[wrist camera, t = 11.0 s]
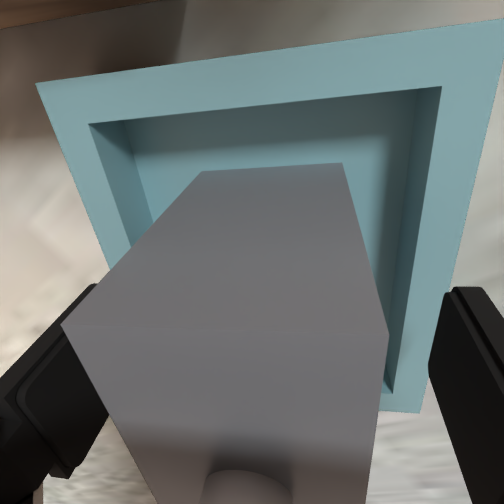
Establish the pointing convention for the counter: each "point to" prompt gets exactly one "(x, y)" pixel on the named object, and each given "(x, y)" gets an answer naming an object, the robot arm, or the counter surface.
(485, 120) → the tray
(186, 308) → the grey rectangular block
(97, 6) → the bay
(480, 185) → the counter surface
